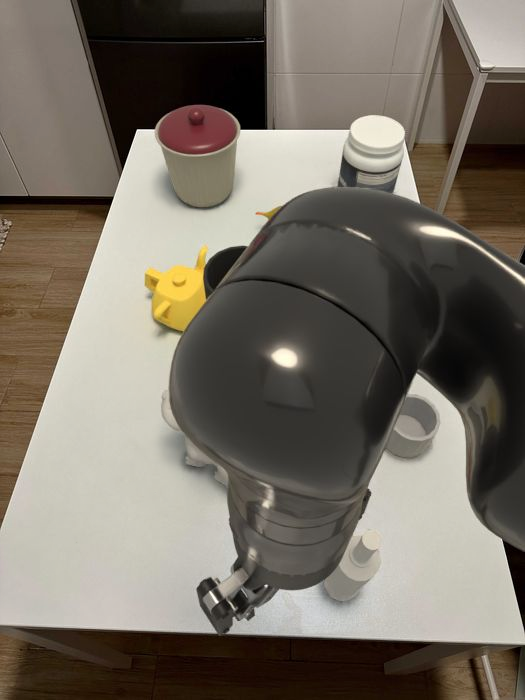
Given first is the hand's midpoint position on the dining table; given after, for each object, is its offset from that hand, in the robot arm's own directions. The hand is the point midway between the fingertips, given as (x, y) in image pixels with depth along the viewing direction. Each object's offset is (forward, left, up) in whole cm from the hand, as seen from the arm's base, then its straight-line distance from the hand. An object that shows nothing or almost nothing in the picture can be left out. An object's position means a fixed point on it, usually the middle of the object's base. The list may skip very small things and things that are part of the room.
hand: (284, 573), depth 43 cm
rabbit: (+22, -11, -34) cm, 42 cm away
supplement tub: (+51, -75, -34) cm, 97 cm away
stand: (+6, -36, -34) cm, 50 cm away
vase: (+31, -22, -34) cm, 51 cm away
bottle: (-3, -11, -34) cm, 36 cm away
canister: (+78, -49, -34) cm, 98 cm away
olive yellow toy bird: (+55, -55, -34) cm, 85 cm away
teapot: (+52, -25, -34) cm, 67 cm away
